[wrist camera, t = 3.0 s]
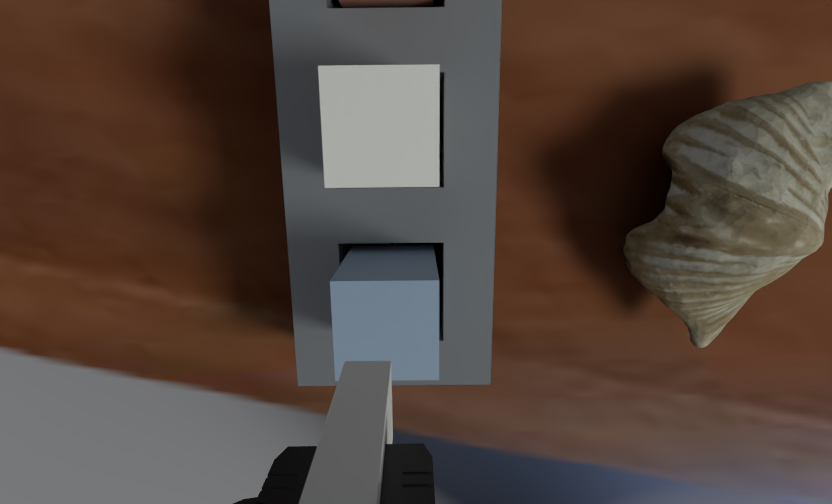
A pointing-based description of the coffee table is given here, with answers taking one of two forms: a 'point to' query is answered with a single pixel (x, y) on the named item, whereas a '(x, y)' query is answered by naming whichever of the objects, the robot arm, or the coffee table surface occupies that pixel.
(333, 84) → the white key
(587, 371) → the coffee table surface
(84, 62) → the coffee table surface
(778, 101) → the seashell
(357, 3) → the salmon brown block
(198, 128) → the coffee table surface
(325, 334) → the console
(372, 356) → the blue key
